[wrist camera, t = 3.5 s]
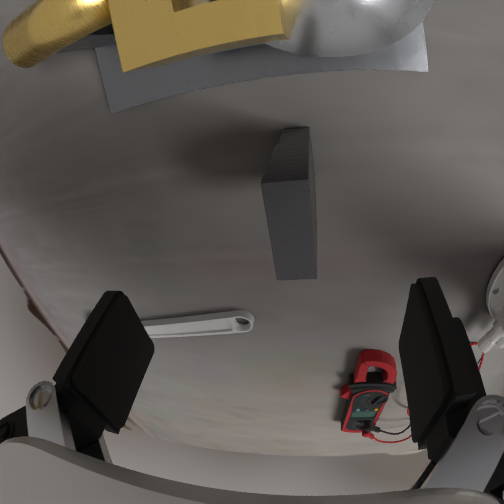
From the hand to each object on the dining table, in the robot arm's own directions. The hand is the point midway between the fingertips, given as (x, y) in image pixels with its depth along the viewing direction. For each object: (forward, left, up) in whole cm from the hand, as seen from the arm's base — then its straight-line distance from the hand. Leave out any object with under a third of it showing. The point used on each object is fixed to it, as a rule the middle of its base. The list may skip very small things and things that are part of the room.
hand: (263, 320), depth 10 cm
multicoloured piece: (+12, +8, -17) cm, 22 cm away
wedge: (0, -1, -18) cm, 18 cm away
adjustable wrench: (-27, +7, -18) cm, 33 cm away
